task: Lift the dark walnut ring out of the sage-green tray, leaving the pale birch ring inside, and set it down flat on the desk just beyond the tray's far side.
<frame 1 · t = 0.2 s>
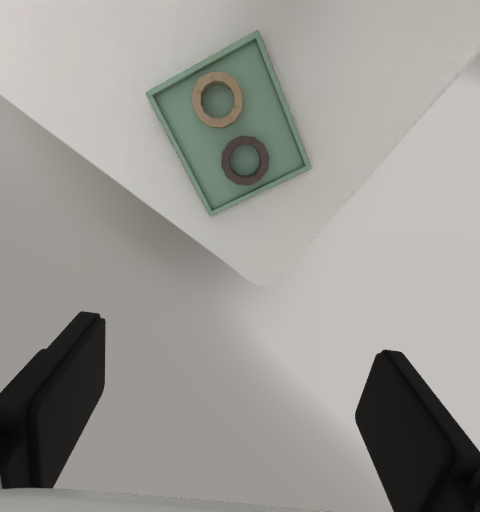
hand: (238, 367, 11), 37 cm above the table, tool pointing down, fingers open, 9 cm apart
birch ring: (218, 102, 41), point 1 cm above the table, touching tray
tray: (232, 132, 43), on the table
walnut ring: (244, 159, 44), point 1 cm above the table, touching tray
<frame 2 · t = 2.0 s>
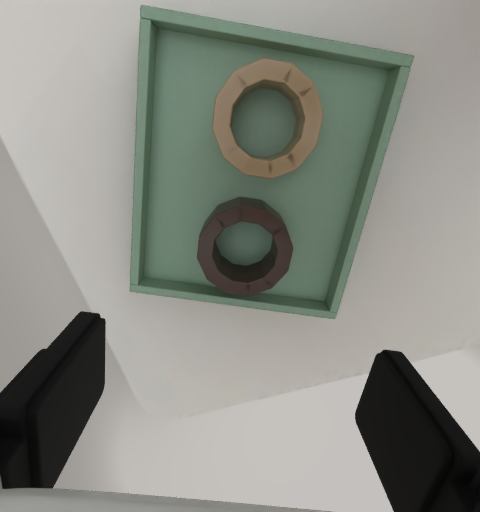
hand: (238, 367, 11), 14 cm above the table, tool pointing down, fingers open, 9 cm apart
birch ring: (263, 123, 20), point 1 cm above the table, touching tray
tray: (252, 183, 22), on the table
walnut ring: (244, 239, 23), point 1 cm above the table, touching tray
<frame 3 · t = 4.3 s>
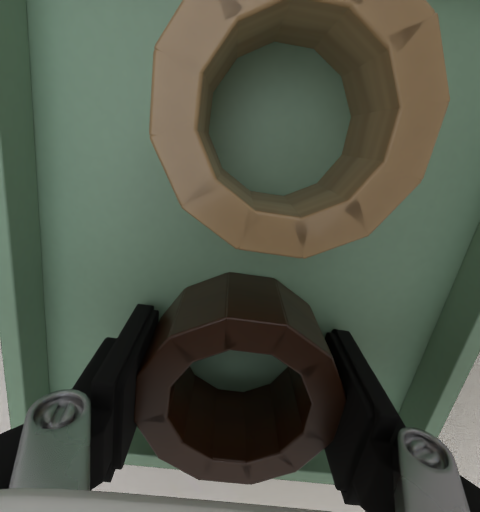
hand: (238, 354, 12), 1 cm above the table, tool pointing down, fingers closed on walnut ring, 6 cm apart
birch ring: (279, 124, 9), point 1 cm above the table, touching tray
tray: (255, 244, 11), on the table
walnut ring: (238, 347, 12), point 1 cm above the table, touching gripper, tray
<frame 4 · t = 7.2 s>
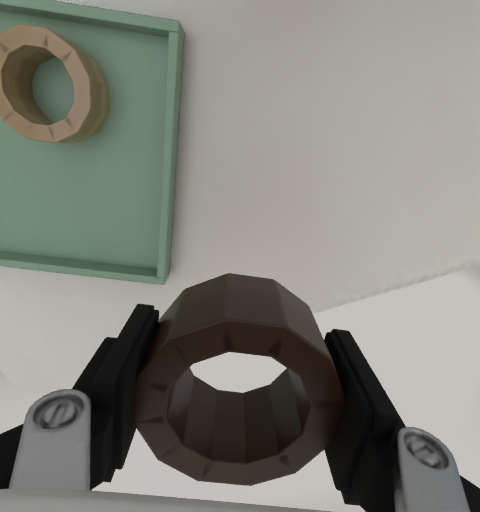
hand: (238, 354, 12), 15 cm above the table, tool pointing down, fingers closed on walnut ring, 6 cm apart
birch ring: (63, 93, 21), point 1 cm above the table, touching tray
tray: (70, 153, 23), on the table
walnut ring: (237, 348, 12), point 14 cm above the table, touching gripper
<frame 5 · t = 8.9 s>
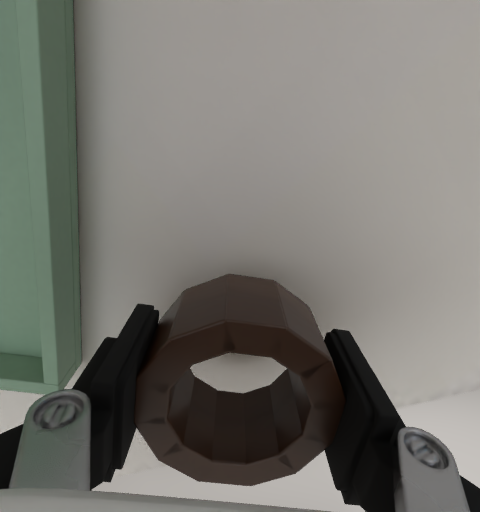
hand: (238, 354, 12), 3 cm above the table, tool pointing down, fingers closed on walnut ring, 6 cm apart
walnut ring: (238, 348, 12), point 2 cm above the table, touching gripper
when the fingers open (0 cm above the table, at t = 10.2 s): walnut ring stays where it is, on the table.
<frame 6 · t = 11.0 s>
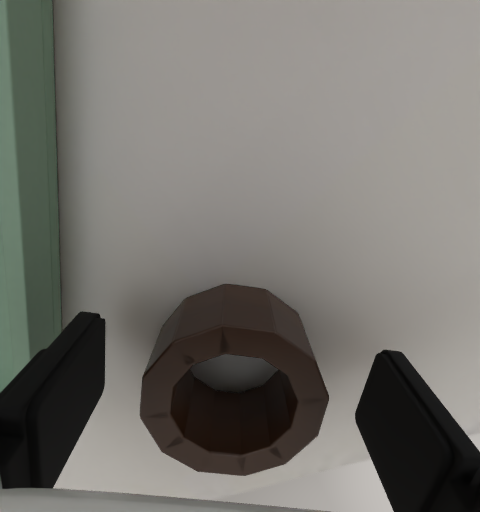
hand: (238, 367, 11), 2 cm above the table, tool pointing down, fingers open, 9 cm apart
walnut ring: (234, 351, 13), on the table
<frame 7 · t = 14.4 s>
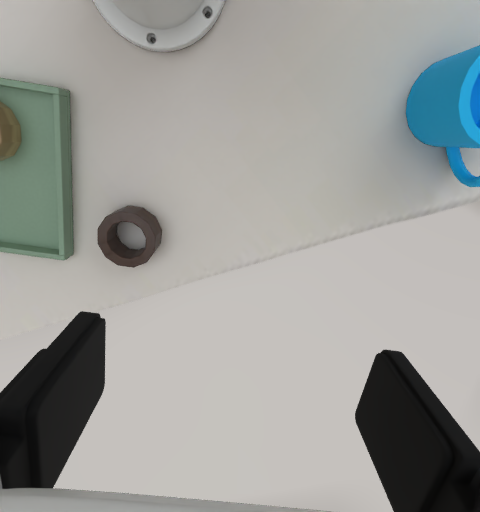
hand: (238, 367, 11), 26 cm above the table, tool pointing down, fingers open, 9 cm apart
mug: (445, 123, 33), on the table
walnut ring: (134, 232, 36), on the table
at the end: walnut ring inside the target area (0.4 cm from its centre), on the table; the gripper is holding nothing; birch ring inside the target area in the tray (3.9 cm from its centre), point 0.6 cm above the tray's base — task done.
